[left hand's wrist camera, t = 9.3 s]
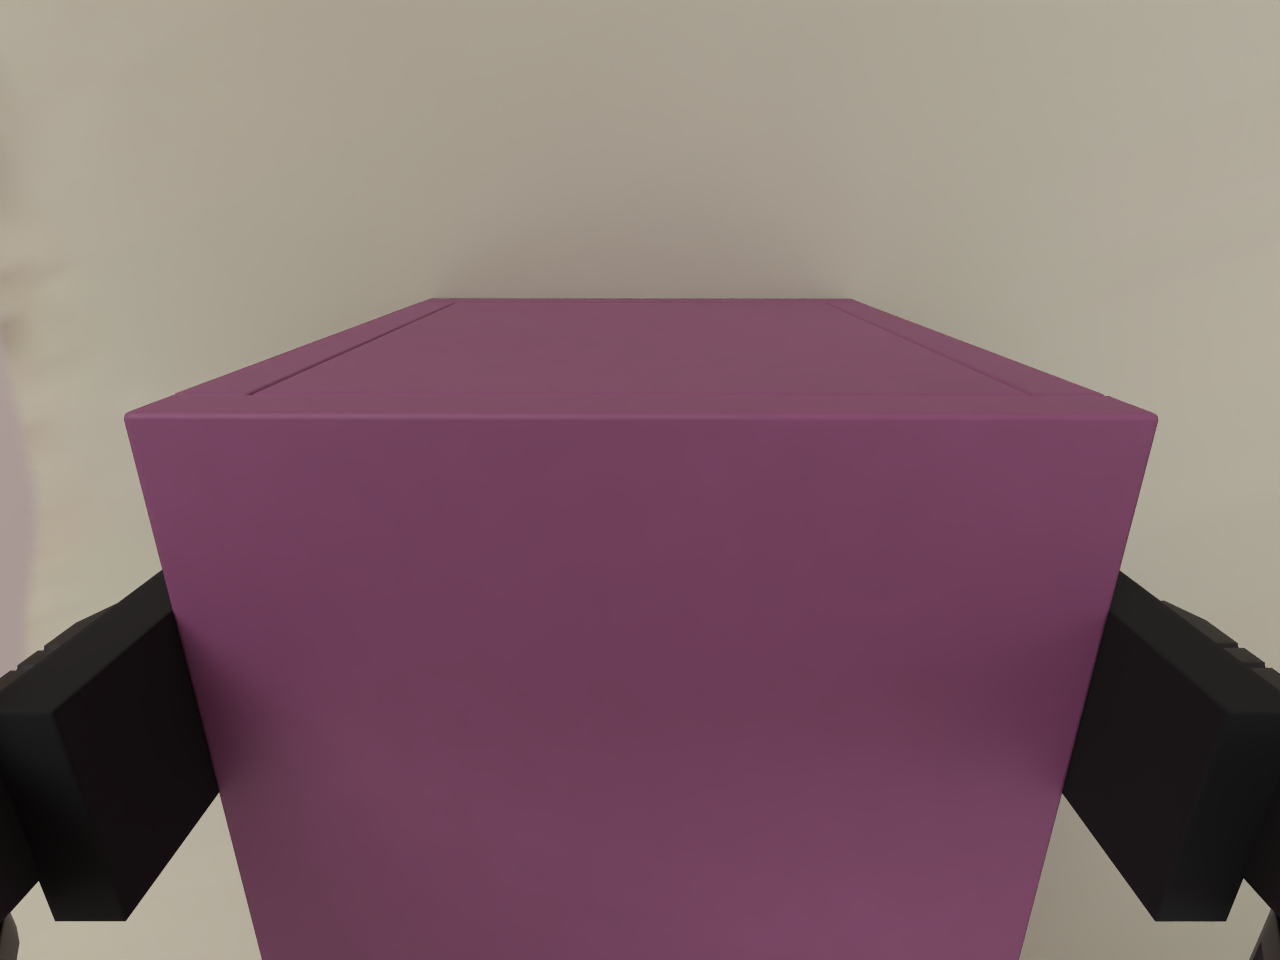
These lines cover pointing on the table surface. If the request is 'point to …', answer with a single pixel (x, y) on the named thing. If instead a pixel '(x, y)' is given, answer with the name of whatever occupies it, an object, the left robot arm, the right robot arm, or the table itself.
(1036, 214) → the table surface
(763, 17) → the table surface
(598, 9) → the table surface
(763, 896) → the cabinet
